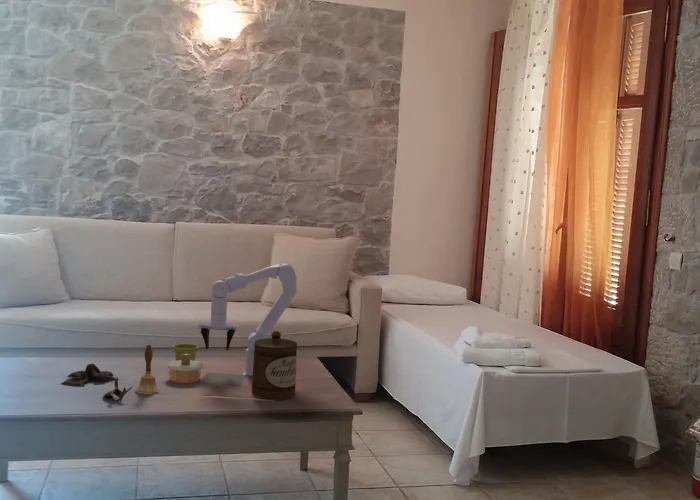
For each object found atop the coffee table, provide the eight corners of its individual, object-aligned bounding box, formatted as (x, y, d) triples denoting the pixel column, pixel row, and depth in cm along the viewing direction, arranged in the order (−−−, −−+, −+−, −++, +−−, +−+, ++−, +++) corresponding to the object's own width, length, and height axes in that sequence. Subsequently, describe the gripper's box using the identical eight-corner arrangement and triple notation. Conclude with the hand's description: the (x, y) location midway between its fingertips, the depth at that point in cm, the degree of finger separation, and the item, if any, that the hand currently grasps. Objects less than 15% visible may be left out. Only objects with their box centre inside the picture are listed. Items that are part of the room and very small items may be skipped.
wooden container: (272, 403, 246) (275, 337, 245) (242, 393, 256) (245, 330, 254) (303, 395, 258) (307, 332, 256) (274, 386, 267) (277, 325, 265)
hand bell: (162, 393, 250) (164, 347, 249) (137, 395, 247) (139, 348, 245) (157, 387, 258) (158, 341, 256) (132, 389, 254) (133, 342, 253)
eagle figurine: (136, 395, 243) (121, 384, 249) (128, 380, 239) (113, 369, 245) (117, 410, 239) (102, 399, 245) (109, 395, 235) (94, 384, 240)
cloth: (60, 389, 251) (60, 371, 250) (60, 375, 268) (61, 358, 268) (129, 386, 259) (129, 369, 258) (125, 373, 276) (125, 356, 275)
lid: (209, 365, 272) (209, 353, 271) (192, 372, 260) (192, 360, 259) (179, 361, 275) (179, 349, 275) (161, 368, 263) (161, 356, 263)
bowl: (201, 377, 273) (202, 364, 273) (196, 385, 263) (196, 371, 263) (174, 376, 273) (175, 362, 273) (167, 383, 263) (168, 369, 263)
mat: (246, 376, 278) (246, 374, 278) (240, 387, 263) (240, 385, 263) (206, 374, 278) (206, 372, 278) (197, 384, 264) (197, 383, 263)
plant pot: (170, 366, 287) (170, 344, 286) (194, 364, 291) (195, 343, 290) (175, 372, 279) (175, 349, 278) (200, 370, 283) (201, 348, 282)
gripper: (240, 312, 282) (238, 347, 283) (201, 310, 282) (200, 345, 283) (236, 315, 275) (235, 351, 276) (197, 313, 275) (196, 349, 276)
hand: (217, 348), depth 279 cm, fingers open, 7 cm apart
